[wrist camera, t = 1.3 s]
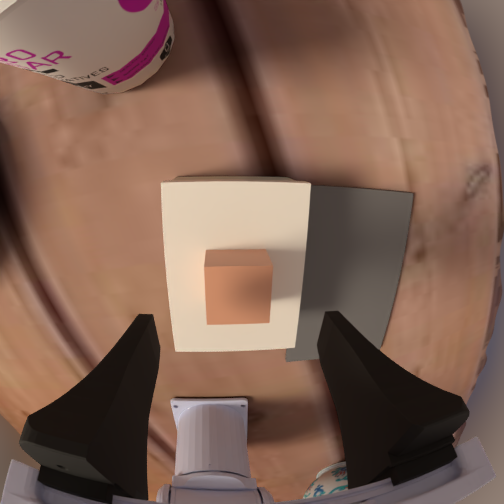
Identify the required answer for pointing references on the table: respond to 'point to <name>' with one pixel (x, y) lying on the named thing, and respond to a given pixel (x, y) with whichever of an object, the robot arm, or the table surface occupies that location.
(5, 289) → the table surface
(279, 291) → the lid
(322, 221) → the mat
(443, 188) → the table surface
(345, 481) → the chinaware
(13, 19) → the supplement can
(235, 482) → the robot arm
